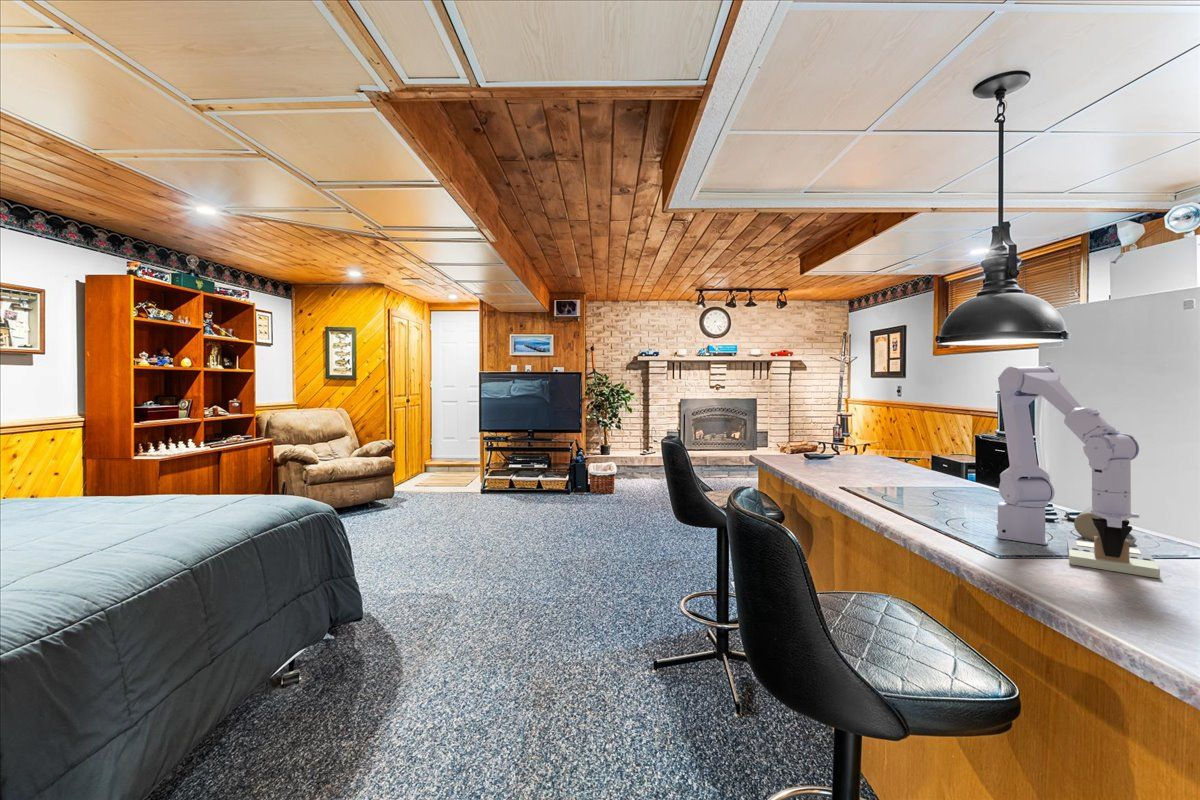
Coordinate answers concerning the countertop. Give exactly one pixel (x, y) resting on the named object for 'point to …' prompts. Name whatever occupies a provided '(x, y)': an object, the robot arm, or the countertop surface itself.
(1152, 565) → the stub
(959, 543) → the countertop surface
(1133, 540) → the ceramic mug
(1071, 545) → the board
